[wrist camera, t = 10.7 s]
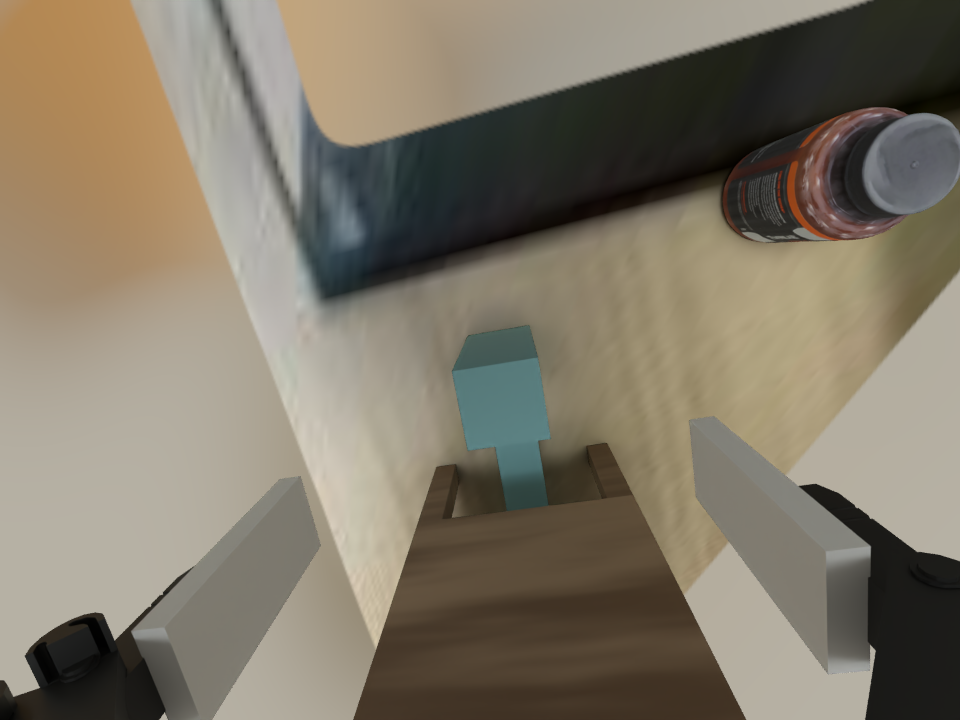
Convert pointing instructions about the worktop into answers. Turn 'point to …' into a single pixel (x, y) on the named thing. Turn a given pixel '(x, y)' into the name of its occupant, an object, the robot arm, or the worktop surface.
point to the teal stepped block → (505, 409)
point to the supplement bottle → (843, 177)
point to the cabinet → (542, 617)
